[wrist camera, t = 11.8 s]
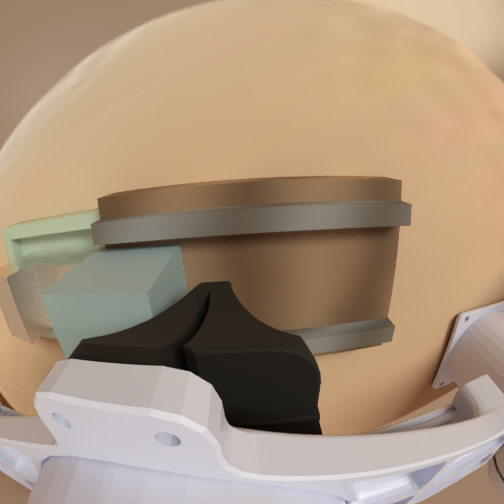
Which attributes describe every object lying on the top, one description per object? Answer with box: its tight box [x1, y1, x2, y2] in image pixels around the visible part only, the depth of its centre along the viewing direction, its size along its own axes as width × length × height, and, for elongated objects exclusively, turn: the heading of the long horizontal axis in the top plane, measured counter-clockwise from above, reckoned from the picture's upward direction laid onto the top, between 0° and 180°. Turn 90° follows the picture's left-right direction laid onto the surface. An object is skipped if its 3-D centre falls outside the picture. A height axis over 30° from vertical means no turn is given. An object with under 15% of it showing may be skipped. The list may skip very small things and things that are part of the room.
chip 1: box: [0, 251, 54, 344], centre depth 13 cm, size 4×4×2 cm
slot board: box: [91, 176, 412, 356], centre depth 14 cm, size 14×10×3 cm, turn 93°
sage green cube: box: [41, 244, 188, 359], centre depth 11 cm, size 4×4×5 cm
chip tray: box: [2, 209, 106, 339], centre depth 15 cm, size 9×8×1 cm
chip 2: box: [31, 249, 102, 328], centre depth 13 cm, size 4×4×2 cm
